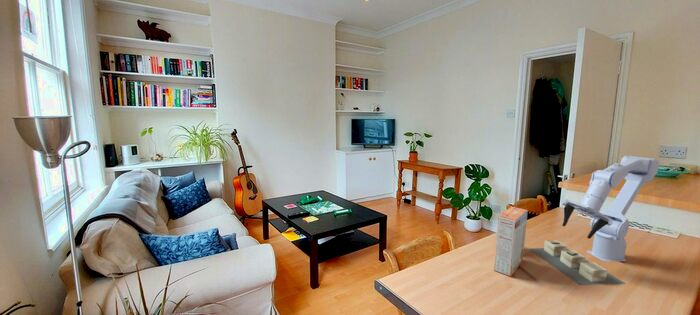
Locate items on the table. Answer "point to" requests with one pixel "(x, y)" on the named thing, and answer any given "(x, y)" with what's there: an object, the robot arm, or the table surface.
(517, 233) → the cracker box
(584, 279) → the mat
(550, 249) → the block one
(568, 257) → the block seven
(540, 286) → the table surface
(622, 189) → the robot arm
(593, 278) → the block plain
